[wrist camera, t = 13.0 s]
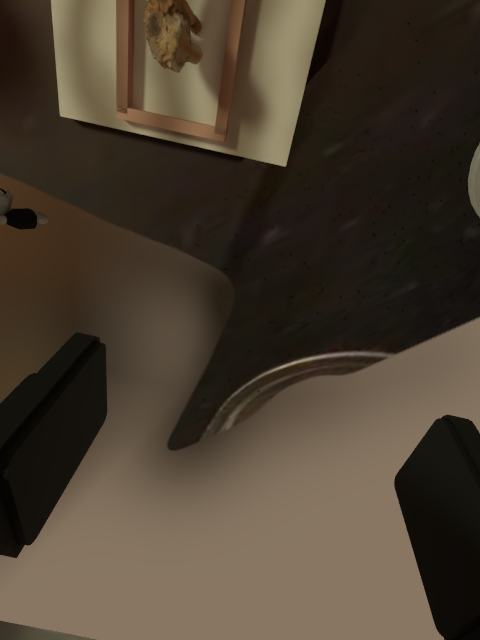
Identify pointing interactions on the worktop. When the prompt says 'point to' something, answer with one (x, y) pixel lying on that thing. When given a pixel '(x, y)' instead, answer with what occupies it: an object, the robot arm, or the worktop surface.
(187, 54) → the lion figurine
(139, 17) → the base plate
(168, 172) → the worktop surface
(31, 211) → the robot toy
